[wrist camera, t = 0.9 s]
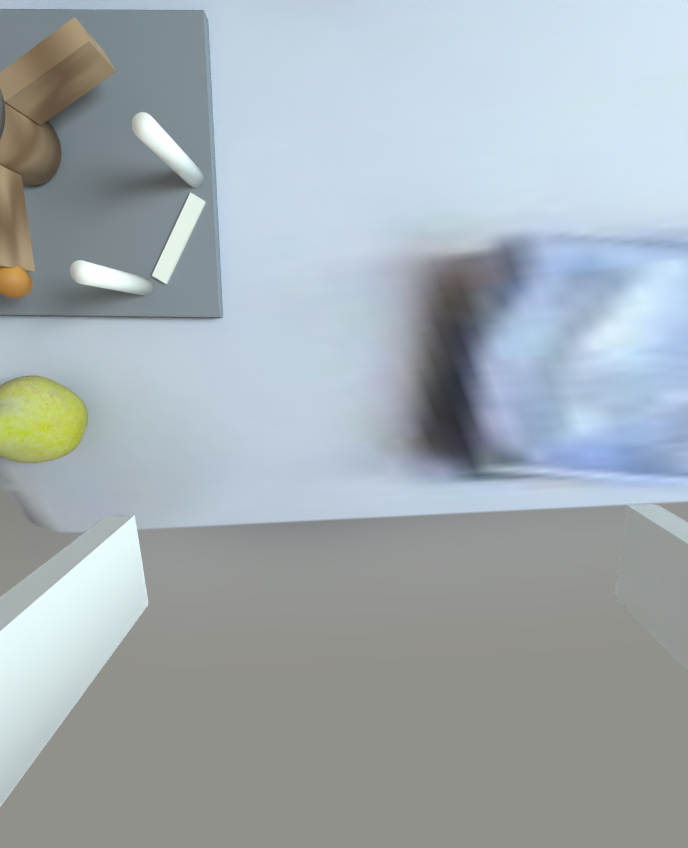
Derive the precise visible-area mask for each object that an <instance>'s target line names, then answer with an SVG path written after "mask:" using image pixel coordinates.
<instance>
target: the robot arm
mask: <svg viewBox="0 0 688 848" xmlns="http://www.w3.org/2000/svg"><path fill="white" fill-rule="evenodd" d="M615 598H616V599H617V600H618V601H619V602H620V603H621V604H622V605H623V606H624V607H625V608H626V609H627V610H628V611H629V612H630V613H631V614H632V615H633V616H634V617H635V618H636V619H637V620H638V621H639V622H640V623H641V624H642V625H643V626H644V627H645V628H646V629H647V630H648V631H649V632H650V633H651V634H652V635H653V636H654V637H655V638H656V639H657V640H658V641H659V643H661V644H662V646H663V647H664V648H665V649H666V650H667V651H668V652H669V653H670V654H672V656H673V657H675V659H676V660H677V661H678V662H679V663H680V664H681V665H682V666H683V667H684V668H685V669H686V670H687V671H688V522H686V521H684V520H683V519H681V518H679V517H677V516H676V515H674V514H672V513H670V512H669V511H667V510H665V509H664V508H662V507H660V506H658V505H656V504H648V505H627V508H626V515H625V523H624V530H623V538H622V545H621V552H620V560H619V567H618V574H617V582H616V589H615ZM147 606H148V598H147V592H146V585H145V578H144V572H143V565H142V559H141V552H140V546H139V540H138V533H137V527H136V520H135V515H113V516H106V517H104V518H103V519H102V520H100V521H99V522H98V523H96V524H95V525H94V526H93V527H91V528H90V529H89V530H87V531H86V532H85V533H83V534H82V535H81V536H80V537H78V538H77V539H76V540H74V541H73V542H72V543H70V544H69V545H68V546H66V547H65V548H64V549H63V550H61V551H60V552H59V553H58V554H56V555H55V556H53V557H52V558H51V559H50V560H48V561H47V562H46V563H45V564H43V565H42V566H40V567H39V568H38V569H36V570H35V571H34V572H33V573H31V574H30V575H29V576H27V577H26V578H25V579H23V580H22V581H21V582H20V583H18V584H17V585H16V586H14V587H13V588H12V589H11V590H9V591H8V592H7V593H5V594H4V595H3V596H1V597H0V807H1V805H2V804H3V803H4V801H5V800H6V798H7V797H8V796H9V794H10V793H11V792H12V790H13V789H14V788H15V786H16V784H17V783H18V782H19V781H20V779H21V778H22V776H23V775H24V774H25V772H26V771H27V770H28V768H29V767H30V766H31V764H32V763H33V762H34V760H35V759H36V757H37V756H38V755H39V753H40V752H41V750H42V749H43V748H44V747H45V745H46V744H47V742H48V741H49V740H50V738H51V737H52V736H53V734H54V733H55V731H56V730H57V729H58V727H59V726H60V725H61V723H62V722H63V721H64V719H65V718H66V716H67V715H68V714H69V712H70V711H71V710H72V708H73V707H74V706H75V704H76V703H77V701H78V700H79V699H80V697H81V696H82V695H83V693H84V692H85V690H86V689H87V688H88V686H89V685H90V684H91V682H92V681H93V680H94V678H95V677H96V675H97V674H98V672H99V671H100V670H101V669H102V667H103V666H104V664H105V663H106V662H107V660H108V659H109V658H110V656H111V655H112V654H113V652H114V651H115V650H116V648H117V647H118V645H119V644H120V643H121V641H122V640H123V639H124V637H125V636H126V634H127V633H128V632H129V630H130V629H131V628H132V626H133V625H134V624H135V622H136V621H137V619H138V618H139V617H140V615H141V614H142V612H143V611H144V610H145V609H146V607H147Z"/></svg>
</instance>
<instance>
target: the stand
mask: <svg viewBox="0 0 688 848" xmlns="http://www.w3.org/2000/svg"><path fill="white" fill-rule="evenodd" d="M74 17H75V18H76V19H77V20H78V21H79V22H80V24H81V25H82V26H83V27H84V28H85V29H86V31H87V32H88V33H89V34H90V35H91V36H92V37H93V39H94V40H95V41H96V42H97V43H98V44H99V46H100V47H101V48H102V49H103V50H104V52H105V53H106V55H107V57H108V59H109V60H110V62H111V64H112V65H113V67H114V69H115V70H116V72H115V73H114V74H112V75H111V76H109V77H108V78H107V79H105V80H104V81H102V82H101V83H100V84H98V85H97V86H95V87H94V88H93V89H91V90H90V91H88V92H87V93H86V94H84V95H83V96H81V97H80V98H79V99H77V100H76V101H74V102H73V103H71V104H70V105H69V106H67V107H66V108H64V109H63V110H62V111H60V112H59V113H57V114H56V115H55V116H53V117H52V118H50V119H49V120H48V122H49V123H50V124H51V125H52V127H53V128H54V130H55V132H56V133H57V135H58V138H59V141H60V145H61V153H62V154H61V163H60V166H59V168H58V170H57V172H56V174H55V175H54V176H53V177H52V178H51V179H50V180H49V181H47V182H45V183H43V184H39V185H27V184H23V189H24V196H25V203H26V210H27V217H28V224H29V231H30V238H31V245H32V252H33V259H34V266H35V272H28V273H29V275H30V276H31V278H32V282H33V287H32V290H31V291H30V293H29V294H28V295H26V296H24V297H22V298H9V297H6V296H3V295H1V294H0V315H57V316H141V317H223V309H222V289H221V269H220V249H219V229H218V209H217V189H216V169H215V149H214V129H213V109H212V89H211V69H210V49H209V29H208V19H207V17H206V15H205V13H204V11H203V10H66V9H0V72H1V71H2V70H4V69H5V68H6V67H8V66H9V65H10V64H12V63H13V62H14V61H16V60H17V59H19V58H20V57H21V56H23V55H24V54H25V53H27V52H28V51H29V50H31V49H32V48H33V47H35V46H36V45H37V44H39V43H40V42H41V41H43V40H44V39H46V38H47V37H48V36H50V35H51V34H52V33H54V32H55V31H56V30H58V29H59V28H60V27H62V26H63V25H64V24H66V23H67V22H68V21H70V20H71V19H73V18H74Z"/></svg>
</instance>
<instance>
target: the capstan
mask: <svg viewBox="0 0 688 848" xmlns="http://www.w3.org/2000/svg"><path fill="white" fill-rule="evenodd" d="M115 72H116V70H115V69H114V67H113V65H112V64H111V62H110V60H109V59H108V57H107V55H106V53H105V52H104V50H103V49H102V48H101V47H100V46H99V44H98V43H97V42H96V41H95V40H94V39H93V37H92V36H91V35H90V34H89V33H88V32H87V31H86V29H85V28H84V27H83V26H82V25H81V24H80V22H79V21H78V20H77V19H76V18H75V17H74V18H73V19H71V20H70V21H68V22H67V23H66V24H64V25H63V26H62V27H60V28H59V29H58V30H56V31H55V32H54V33H52V34H51V35H50V36H48V37H47V38H46V39H44V40H43V41H41V42H40V43H39V44H37V45H36V46H35V47H33V48H32V49H31V50H29V51H28V52H27V53H25V54H24V55H23V56H21V57H20V58H19V59H17V60H16V61H14V62H13V63H12V64H10V65H9V66H8V67H6V68H5V69H4V70H2V71H1V72H0V294H1V295H3V296H6V297H9V298H22V297H24V296H26V295H28V294H29V293H30V291H31V290H32V287H33V282H32V278H31V276H30V275H29V273H28V272H35V266H34V259H33V252H32V245H31V238H30V231H29V224H28V217H27V210H26V203H25V196H24V189H23V184H27V185H39V184H43V183H45V182H47V181H49V180H50V179H51V178H52V177H53V176H54V175H55V174H56V172H57V170H58V168H59V166H60V163H61V154H62V153H61V145H60V141H59V138H58V135H57V133H56V132H55V130H54V128H53V127H52V125H51V124H50V123H49V122H48V120H49V119H50V118H52V117H53V116H55V115H56V114H57V113H59V112H60V111H62V110H63V109H64V108H66V107H67V106H69V105H70V104H71V103H73V102H74V101H76V100H77V99H79V98H80V97H81V96H83V95H84V94H86V93H87V92H88V91H90V90H91V89H93V88H94V87H95V86H97V85H98V84H100V83H101V82H102V81H104V80H105V79H107V78H108V77H109V76H111V75H112V74H114V73H115Z"/></svg>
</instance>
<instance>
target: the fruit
mask: <svg viewBox="0 0 688 848" xmlns="http://www.w3.org/2000/svg"><path fill="white" fill-rule="evenodd" d="M87 420H88V414H87V409H86V406H85V404H84V403H83V401H82V400H81V399H80V398H79V397H78V396H77V395H76V394H75V393H73V392H72V391H71V390H69V389H68V388H66V387H64V386H63V385H61V384H59V383H57V382H55V381H52V380H50V379H47V378H44V377H40V376H25V377H20V378H16V379H13V380H10V381H8V382H6V383H4V384H3V385H1V386H0V456H2V457H4V458H6V459H9V460H12V461H16V462H22V463H39V462H46V461H51V460H55V459H57V458H60V457H62V456H65V455H67V454H68V453H70V452H71V451H73V450H74V449H75V448H76V447H77V446H78V444H79V443H80V441H81V439H82V437H83V434H84V431H85V428H86V425H87Z"/></svg>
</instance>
